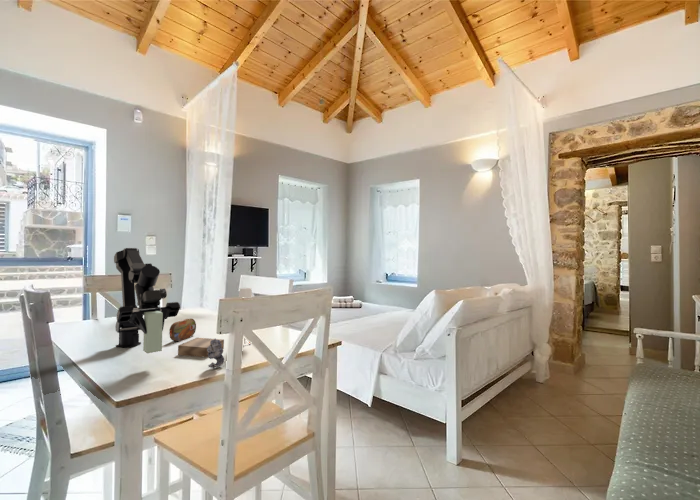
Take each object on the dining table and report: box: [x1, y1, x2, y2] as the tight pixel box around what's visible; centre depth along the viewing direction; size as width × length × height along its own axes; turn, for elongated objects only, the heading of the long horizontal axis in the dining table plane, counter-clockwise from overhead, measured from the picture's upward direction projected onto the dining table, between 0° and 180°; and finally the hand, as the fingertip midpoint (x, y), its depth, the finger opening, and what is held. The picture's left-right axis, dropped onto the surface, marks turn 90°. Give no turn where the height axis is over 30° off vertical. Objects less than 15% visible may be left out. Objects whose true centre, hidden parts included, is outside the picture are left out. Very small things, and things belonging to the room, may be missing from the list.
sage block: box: [142, 311, 163, 354], centre depth 117 cm, size 4×4×13 cm
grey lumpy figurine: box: [207, 338, 225, 369], centre depth 118 cm, size 5×5×10 cm
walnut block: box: [177, 337, 225, 358], centre depth 136 cm, size 12×12×4 cm
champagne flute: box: [238, 287, 253, 344], centre depth 148 cm, size 7×7×24 cm
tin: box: [168, 318, 197, 342], centre depth 154 cm, size 15×3×8 cm, turn 168°
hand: (154, 332), depth 116 cm, fingers closed on sage block, 4 cm apart
